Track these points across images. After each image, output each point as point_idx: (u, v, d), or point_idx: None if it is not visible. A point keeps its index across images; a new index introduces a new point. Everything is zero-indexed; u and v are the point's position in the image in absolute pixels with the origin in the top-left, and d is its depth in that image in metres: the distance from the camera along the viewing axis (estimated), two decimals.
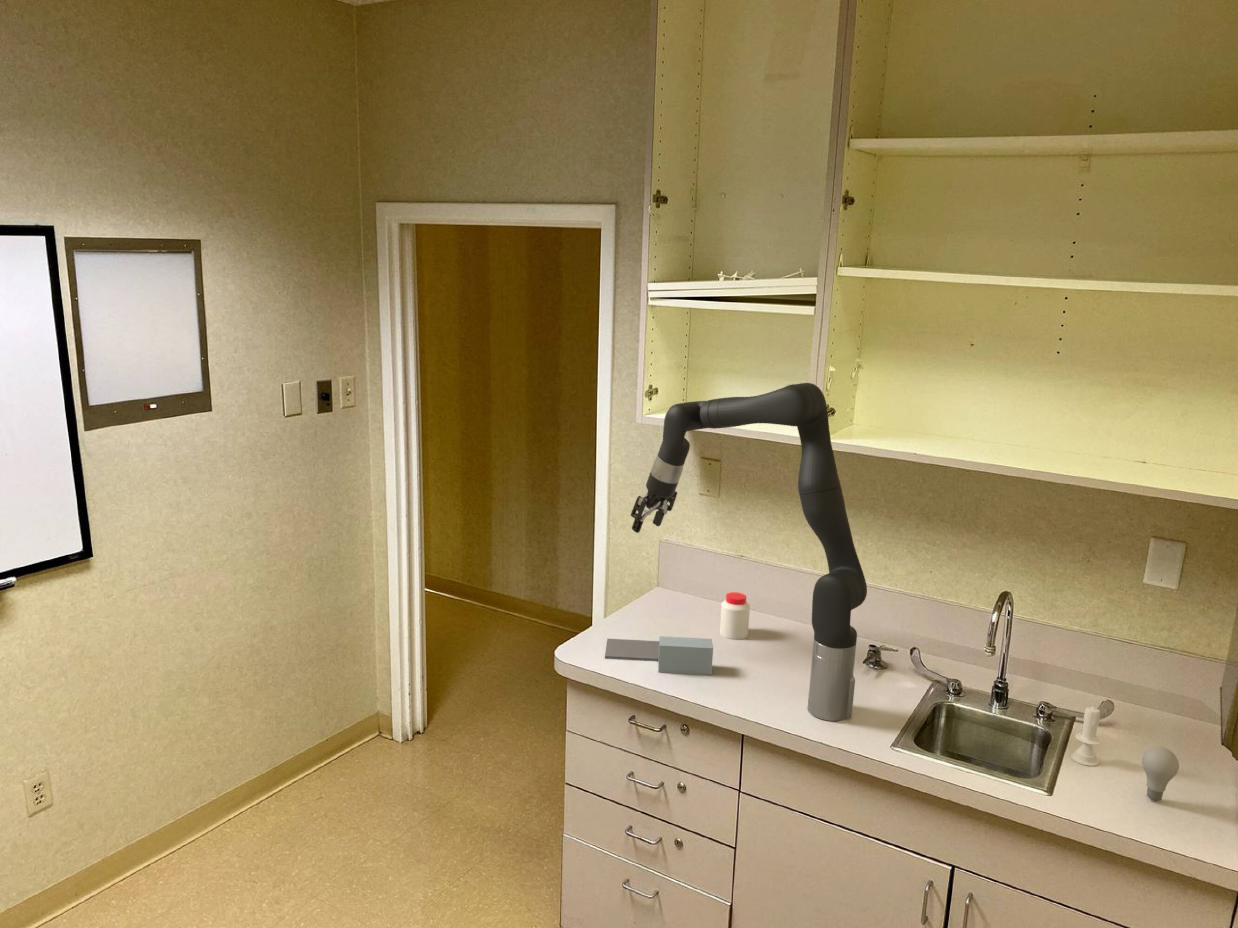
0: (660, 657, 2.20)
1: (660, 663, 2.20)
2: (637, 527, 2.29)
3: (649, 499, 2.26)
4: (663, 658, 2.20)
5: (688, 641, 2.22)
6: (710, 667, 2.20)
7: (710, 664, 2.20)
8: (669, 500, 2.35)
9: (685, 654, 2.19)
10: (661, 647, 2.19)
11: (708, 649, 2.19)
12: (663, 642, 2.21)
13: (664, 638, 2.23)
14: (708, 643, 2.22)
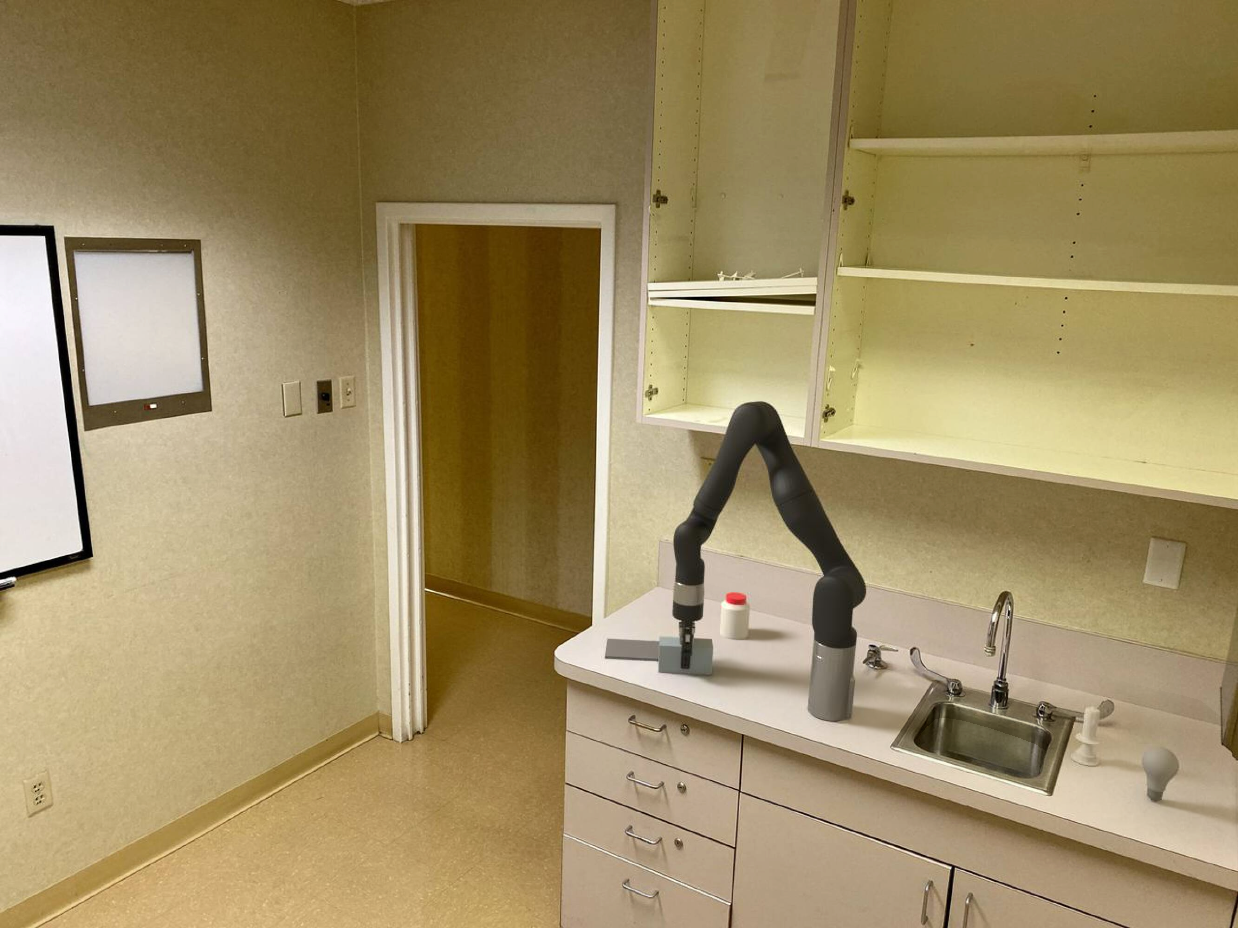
0: (660, 657, 2.20)
1: (660, 663, 2.20)
2: (688, 663, 2.19)
3: (690, 630, 2.17)
4: (663, 658, 2.20)
5: None
6: (710, 667, 2.20)
7: (710, 664, 2.20)
8: None
9: None
10: (661, 647, 2.19)
11: (708, 649, 2.19)
12: (663, 642, 2.21)
13: (664, 638, 2.23)
14: (709, 643, 2.22)
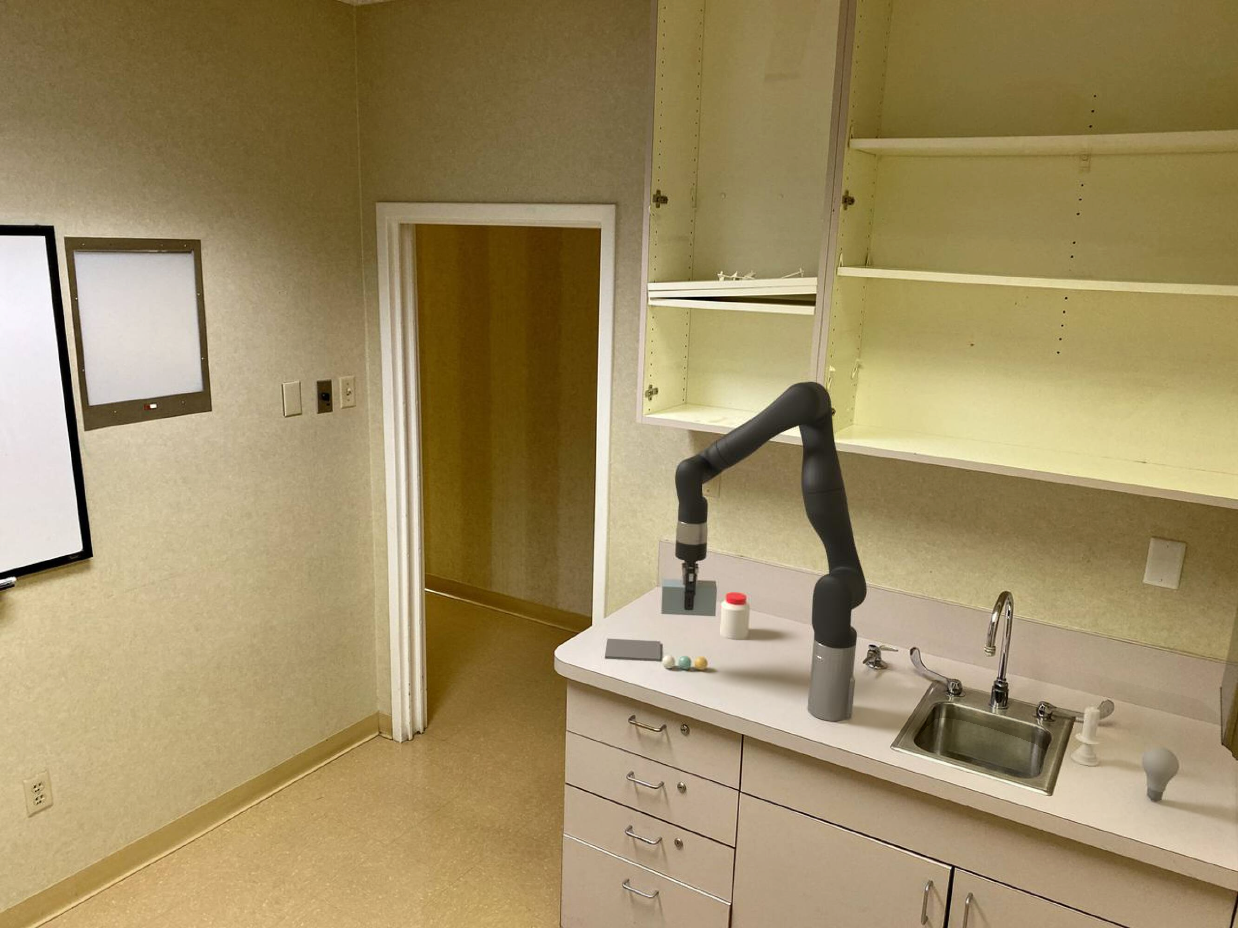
0: (663, 598, 2.16)
1: (663, 605, 2.17)
2: (692, 604, 2.15)
3: (693, 569, 2.13)
4: (666, 600, 2.16)
5: None
6: (714, 608, 2.16)
7: (714, 605, 2.16)
8: None
9: None
10: (664, 588, 2.16)
11: (712, 590, 2.15)
12: (666, 584, 2.17)
13: (667, 580, 2.20)
14: (712, 584, 2.18)
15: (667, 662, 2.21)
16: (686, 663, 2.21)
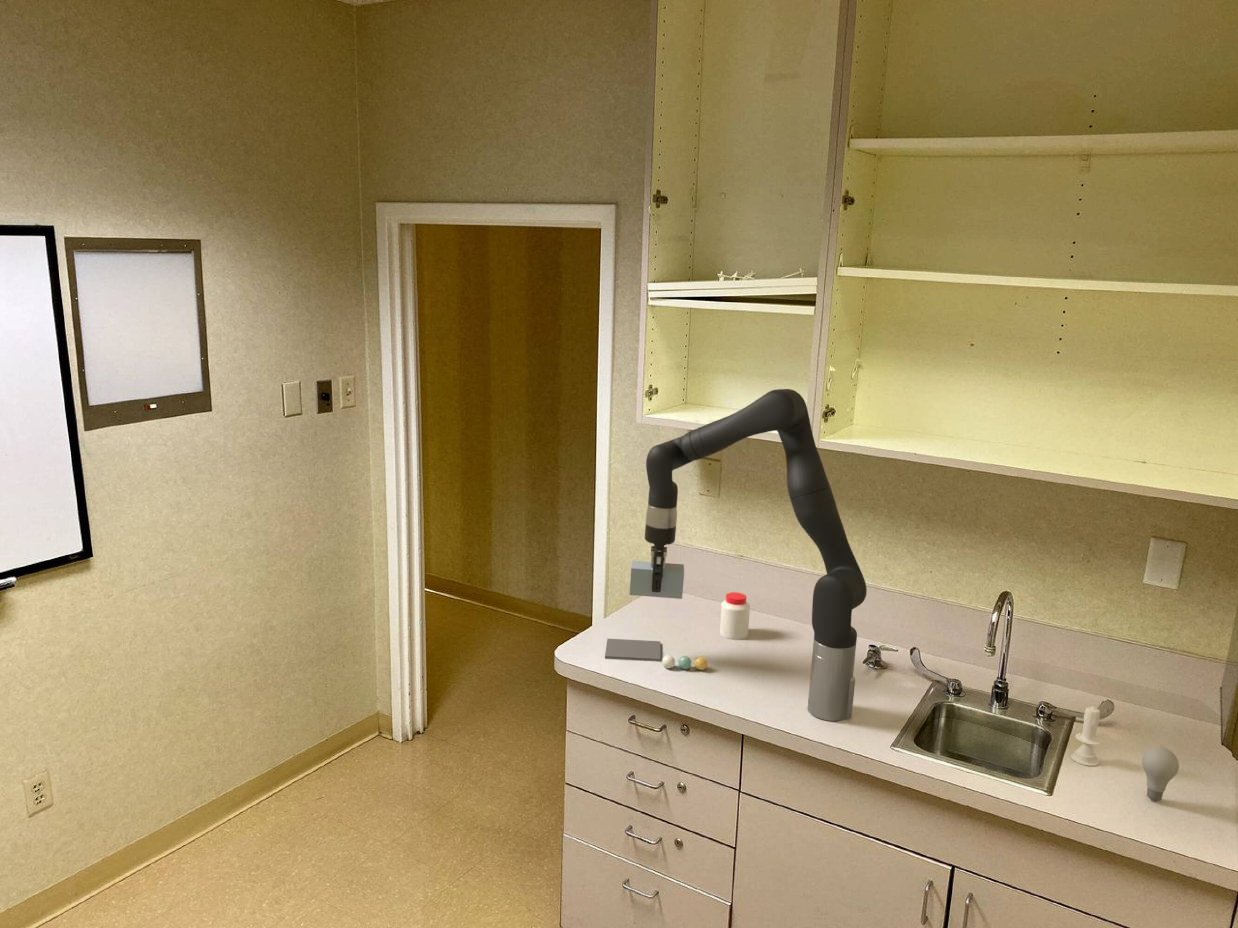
0: (631, 580, 2.22)
1: (631, 586, 2.22)
2: (659, 586, 2.21)
3: (661, 553, 2.18)
4: (635, 581, 2.22)
5: None
6: (681, 591, 2.22)
7: (681, 588, 2.22)
8: None
9: None
10: (633, 570, 2.21)
11: (679, 573, 2.21)
12: (635, 566, 2.23)
13: (636, 562, 2.25)
14: (680, 567, 2.23)
15: (667, 662, 2.21)
16: (686, 663, 2.21)
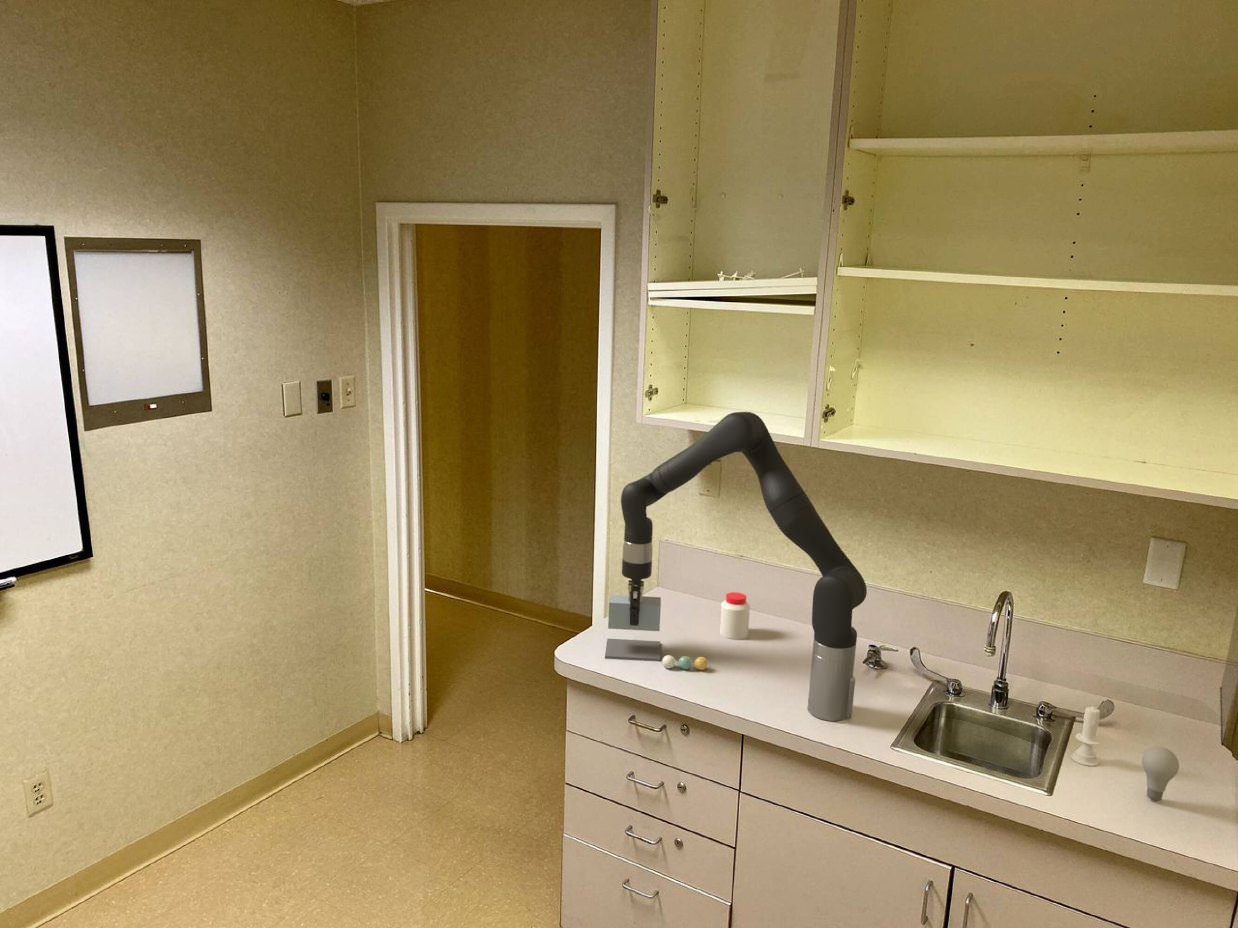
0: (610, 614, 2.28)
1: (610, 620, 2.28)
2: (637, 619, 2.27)
3: (638, 587, 2.24)
4: (613, 615, 2.28)
5: None
6: (658, 624, 2.28)
7: (658, 621, 2.27)
8: None
9: None
10: (610, 604, 2.27)
11: (656, 606, 2.27)
12: (613, 600, 2.29)
13: (614, 596, 2.31)
14: (657, 600, 2.29)
15: (667, 662, 2.21)
16: (686, 663, 2.21)
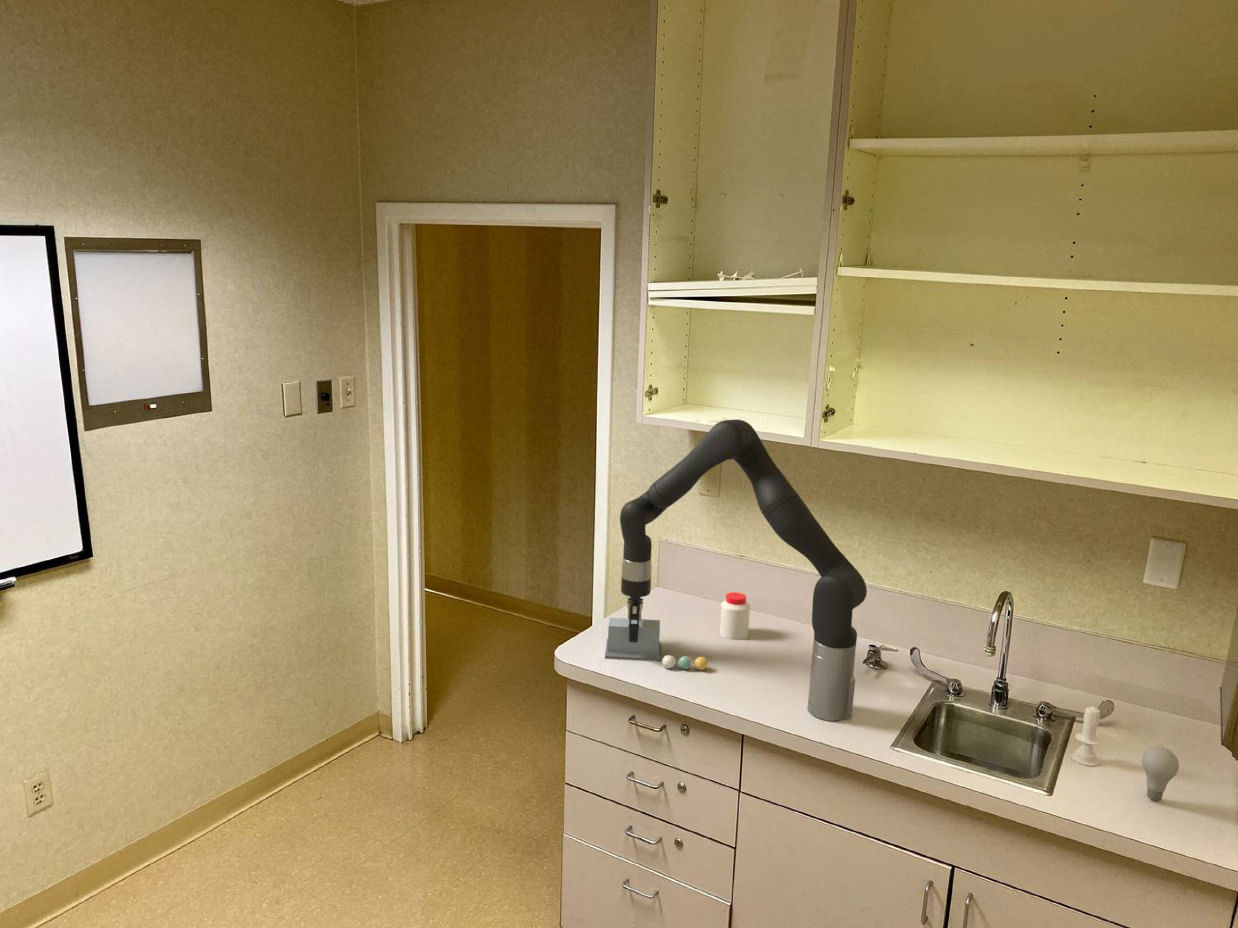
0: (609, 637, 2.29)
1: (609, 643, 2.29)
2: (636, 636, 2.26)
3: (637, 604, 2.25)
4: (612, 638, 2.29)
5: None
6: (657, 647, 2.29)
7: (657, 644, 2.29)
8: None
9: None
10: (610, 628, 2.28)
11: (655, 629, 2.28)
12: (612, 623, 2.30)
13: (614, 619, 2.32)
14: (656, 624, 2.31)
15: (667, 662, 2.21)
16: (686, 663, 2.21)
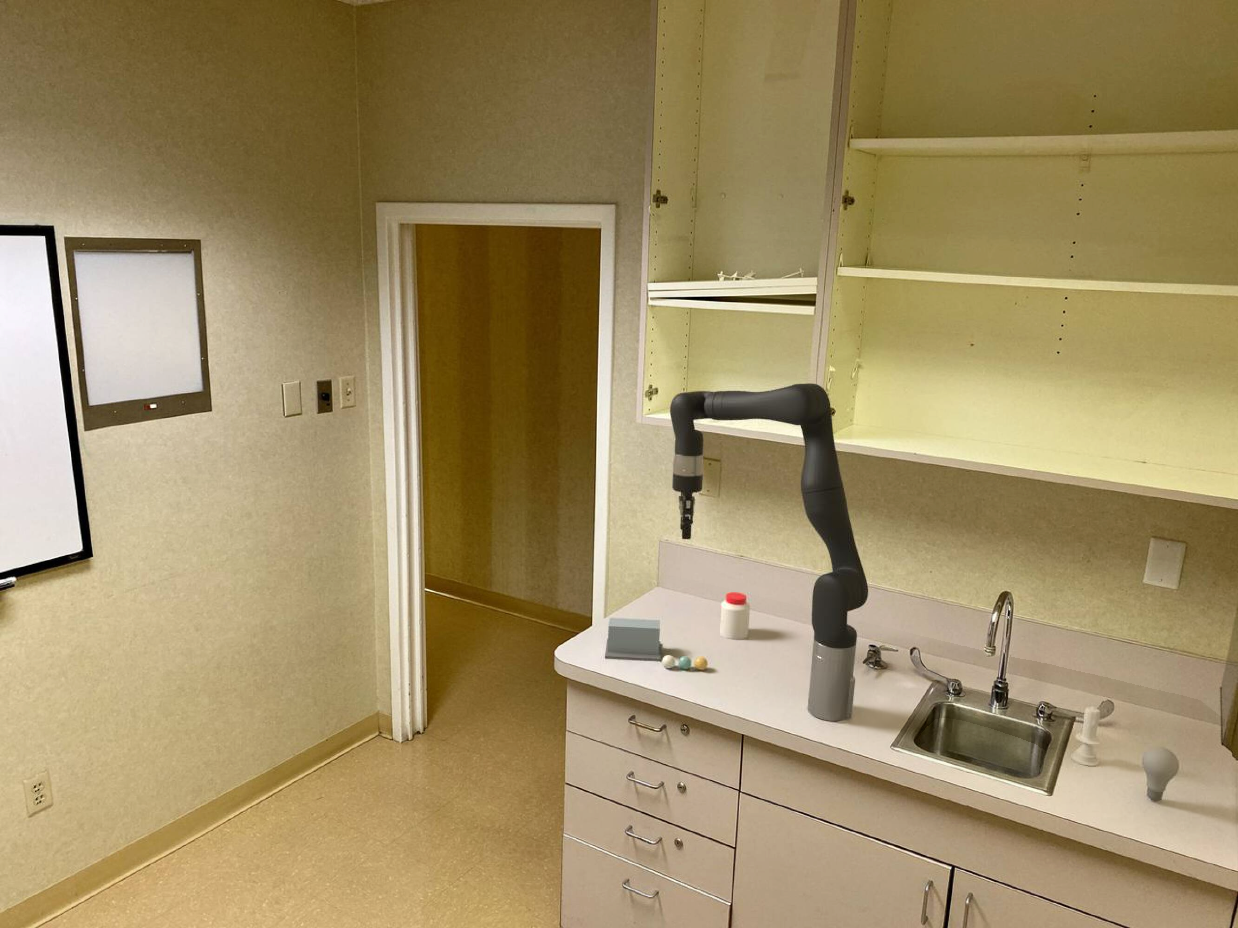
0: (609, 637, 2.29)
1: (609, 643, 2.29)
2: (689, 533, 2.23)
3: (690, 499, 2.22)
4: (612, 638, 2.29)
5: (637, 622, 2.31)
6: (657, 647, 2.29)
7: (657, 644, 2.29)
8: None
9: (633, 635, 2.28)
10: (610, 628, 2.28)
11: (655, 629, 2.28)
12: (612, 623, 2.30)
13: (614, 619, 2.32)
14: (656, 624, 2.31)
15: (667, 662, 2.21)
16: (686, 663, 2.21)
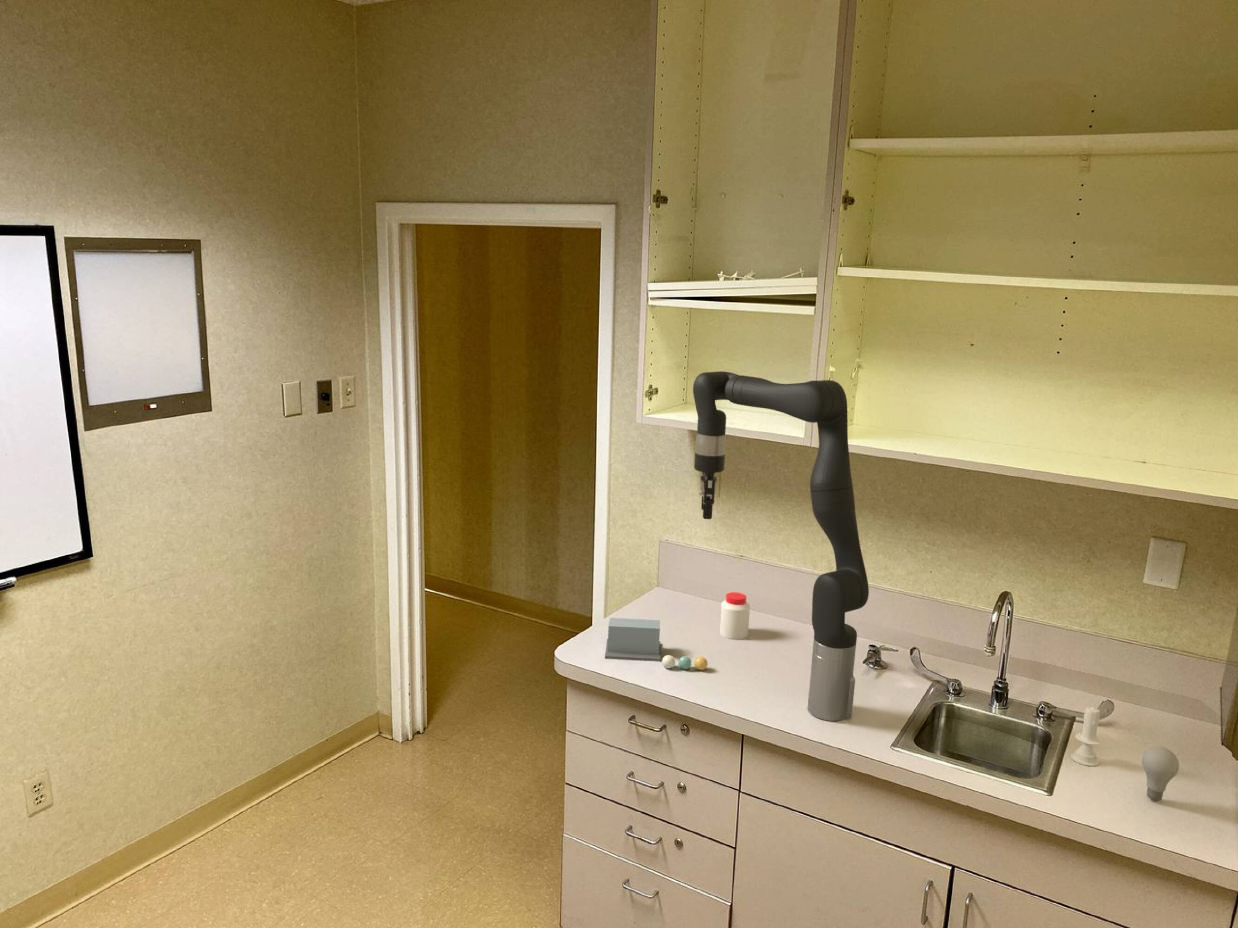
0: (609, 637, 2.29)
1: (609, 643, 2.29)
2: (710, 513, 2.23)
3: (712, 479, 2.22)
4: (612, 638, 2.29)
5: (637, 622, 2.31)
6: (657, 647, 2.29)
7: (657, 644, 2.29)
8: None
9: (633, 635, 2.28)
10: (610, 628, 2.28)
11: (655, 629, 2.28)
12: (612, 623, 2.30)
13: (614, 619, 2.32)
14: (656, 624, 2.31)
15: (667, 662, 2.21)
16: (686, 663, 2.21)
